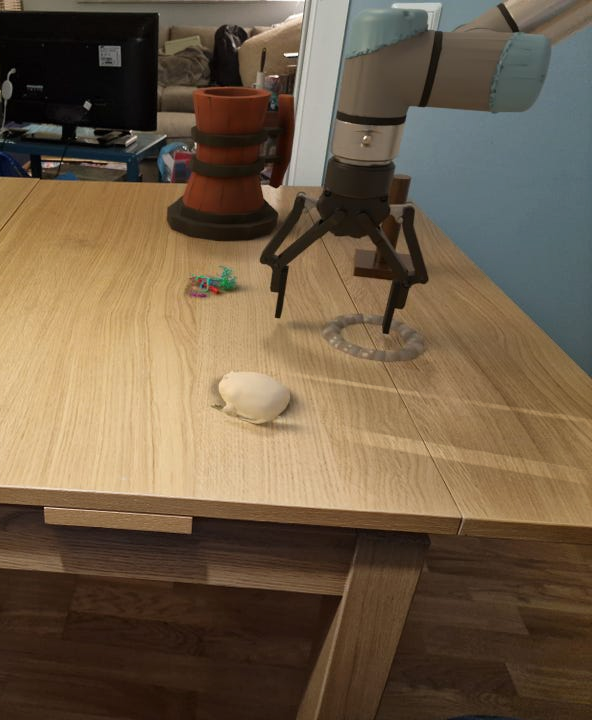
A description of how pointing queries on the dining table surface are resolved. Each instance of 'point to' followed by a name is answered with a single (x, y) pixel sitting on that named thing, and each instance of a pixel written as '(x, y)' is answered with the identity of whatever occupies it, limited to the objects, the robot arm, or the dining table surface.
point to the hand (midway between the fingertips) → (330, 321)
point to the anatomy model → (210, 281)
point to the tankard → (232, 165)
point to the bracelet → (406, 353)
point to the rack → (373, 261)
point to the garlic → (253, 396)
